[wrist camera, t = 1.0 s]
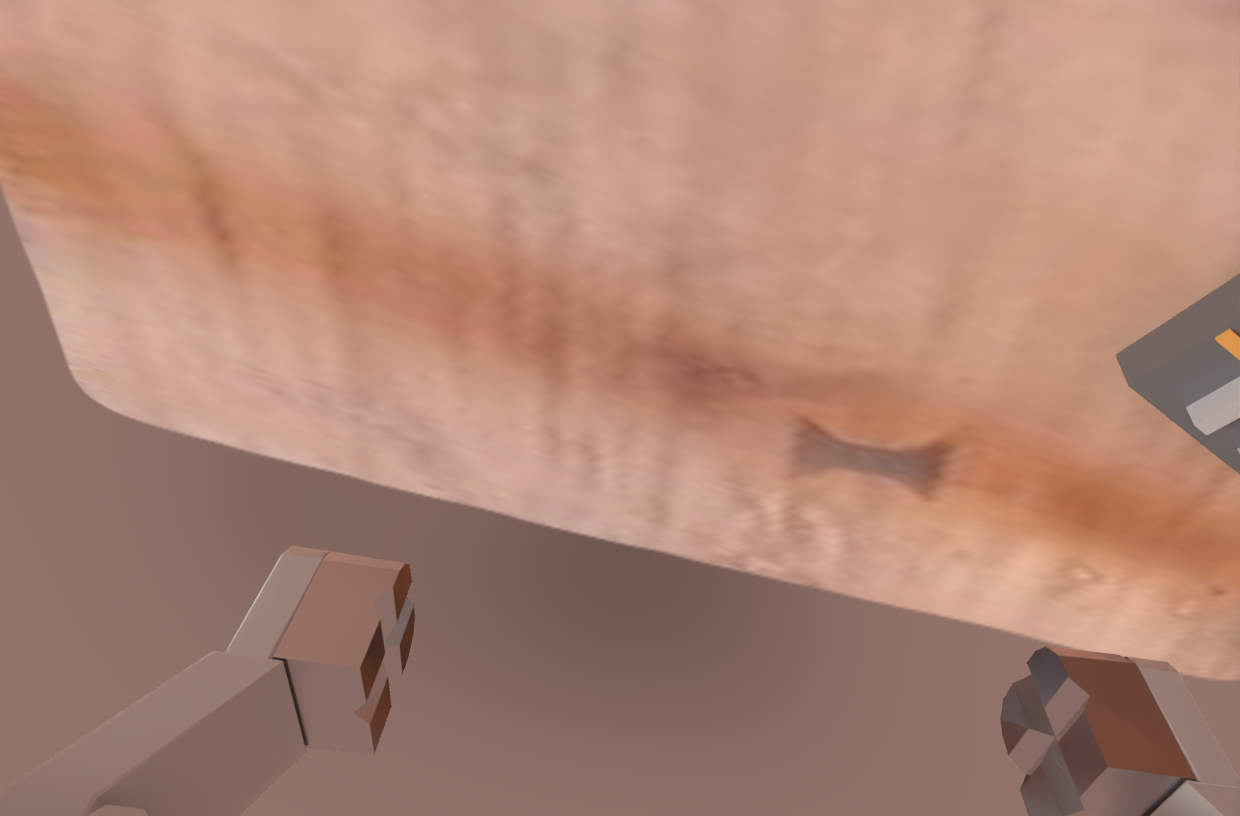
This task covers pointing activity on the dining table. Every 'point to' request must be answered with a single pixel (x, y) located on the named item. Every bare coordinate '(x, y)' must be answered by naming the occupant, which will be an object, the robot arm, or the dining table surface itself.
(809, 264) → the dining table surface
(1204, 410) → the fader console
